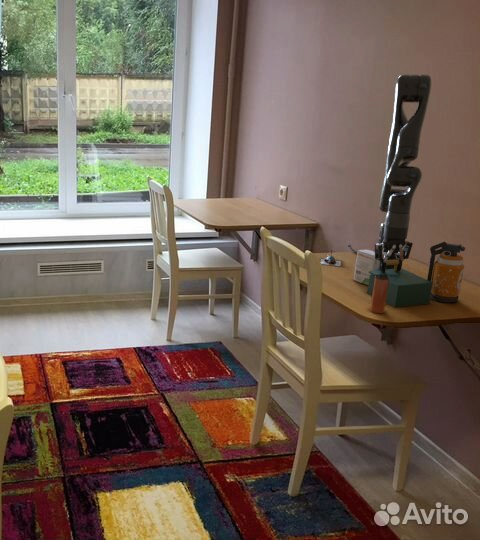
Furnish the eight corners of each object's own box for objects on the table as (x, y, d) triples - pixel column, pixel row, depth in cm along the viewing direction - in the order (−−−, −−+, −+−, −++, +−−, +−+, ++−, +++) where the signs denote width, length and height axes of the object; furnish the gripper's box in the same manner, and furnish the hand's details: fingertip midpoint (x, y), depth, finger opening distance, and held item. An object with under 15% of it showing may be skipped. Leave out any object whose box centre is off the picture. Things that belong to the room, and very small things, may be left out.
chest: (367, 292, 215) (369, 274, 213) (399, 289, 218) (402, 271, 216) (395, 307, 201) (398, 287, 199) (429, 303, 205) (432, 284, 203)
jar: (367, 309, 199) (372, 274, 195) (378, 308, 200) (383, 273, 197) (375, 314, 195) (381, 278, 191) (387, 312, 196) (392, 277, 192)
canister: (456, 305, 203) (467, 248, 197) (420, 299, 209) (429, 243, 203) (458, 297, 210) (469, 242, 204) (423, 292, 216) (432, 237, 210)
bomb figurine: (320, 264, 248) (321, 251, 246) (321, 259, 254) (322, 246, 253) (340, 266, 245) (342, 253, 243) (341, 261, 252) (342, 248, 250)
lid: (368, 272, 213) (370, 259, 212) (401, 270, 217) (403, 256, 215) (398, 287, 199) (400, 273, 198) (432, 284, 203) (435, 270, 201)
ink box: (380, 285, 223) (384, 254, 219) (370, 286, 221) (374, 256, 217) (362, 278, 230) (366, 248, 226) (352, 280, 228) (356, 250, 224)
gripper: (406, 220, 213) (399, 266, 218) (371, 223, 209) (365, 269, 214) (422, 225, 206) (414, 273, 211) (386, 228, 202) (379, 276, 207)
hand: (389, 271), depth 212 cm, fingers closed on lid, 5 cm apart
